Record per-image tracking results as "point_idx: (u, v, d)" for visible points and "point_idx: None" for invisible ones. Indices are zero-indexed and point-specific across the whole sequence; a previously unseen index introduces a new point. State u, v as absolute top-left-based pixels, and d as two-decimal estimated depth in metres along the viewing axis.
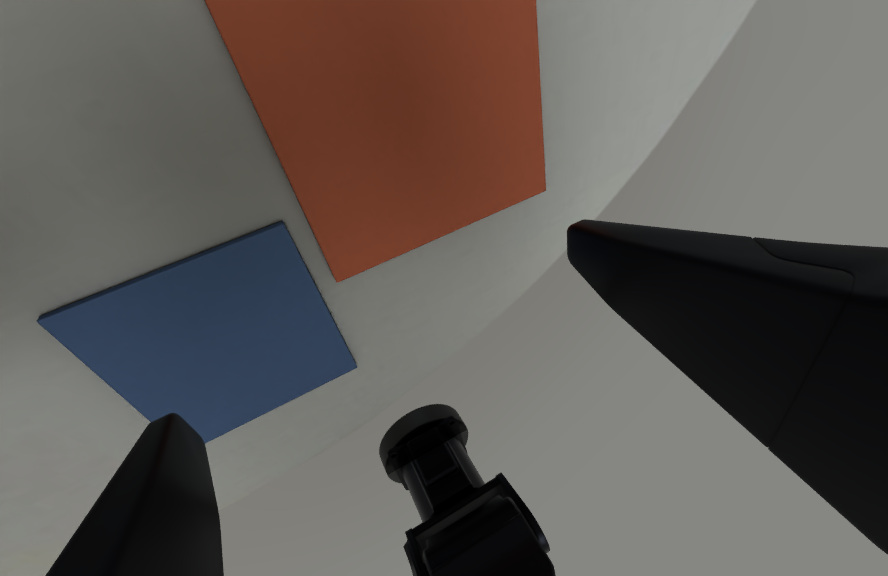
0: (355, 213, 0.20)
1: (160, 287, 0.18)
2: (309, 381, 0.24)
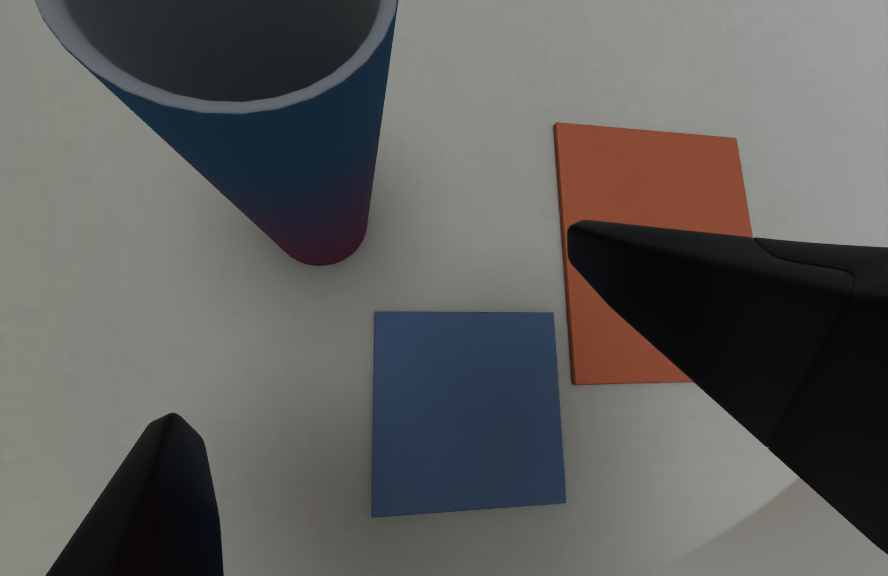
0: (606, 327, 0.24)
1: (455, 323, 0.22)
2: (515, 492, 0.21)
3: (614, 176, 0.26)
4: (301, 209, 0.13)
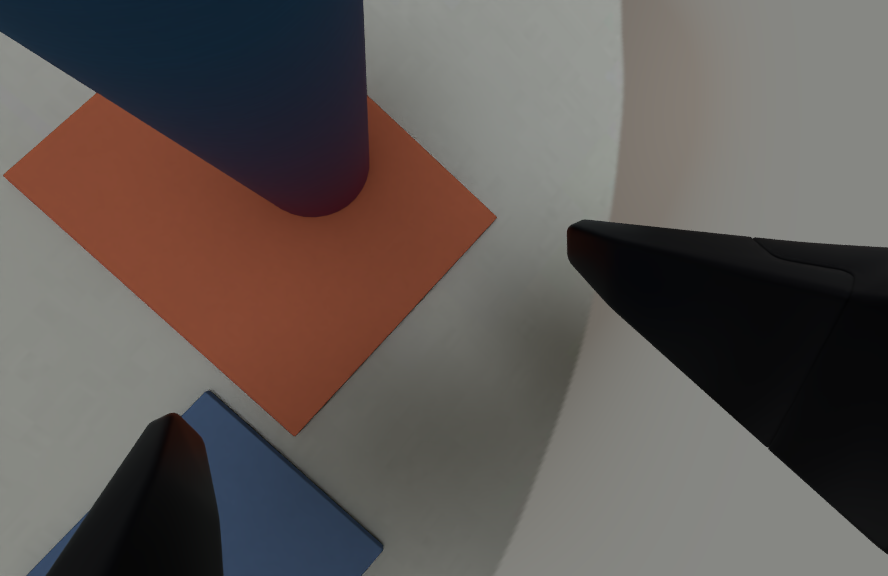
0: (275, 348, 0.18)
1: None
2: None
3: (133, 170, 0.17)
4: (264, 133, 0.09)
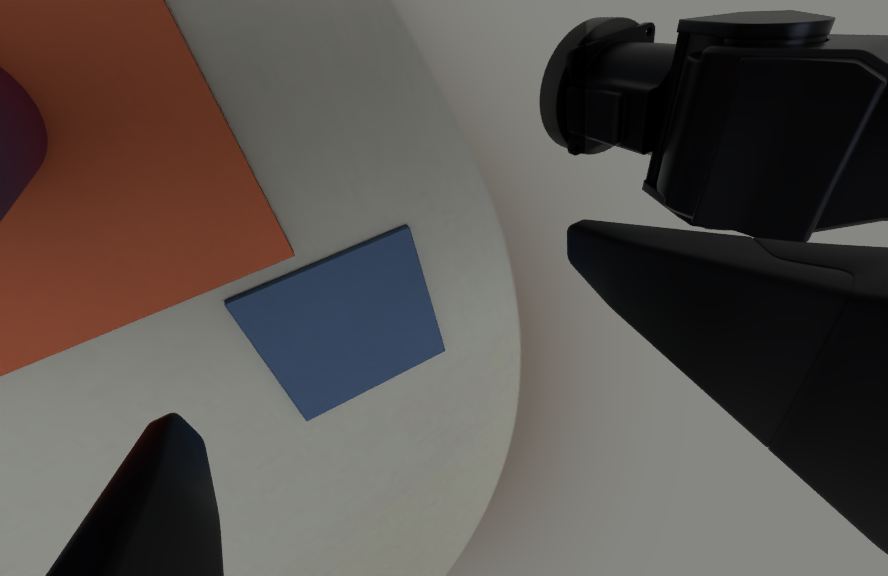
0: (206, 244, 0.18)
1: (286, 373, 0.24)
2: (410, 271, 0.24)
3: None
4: None
